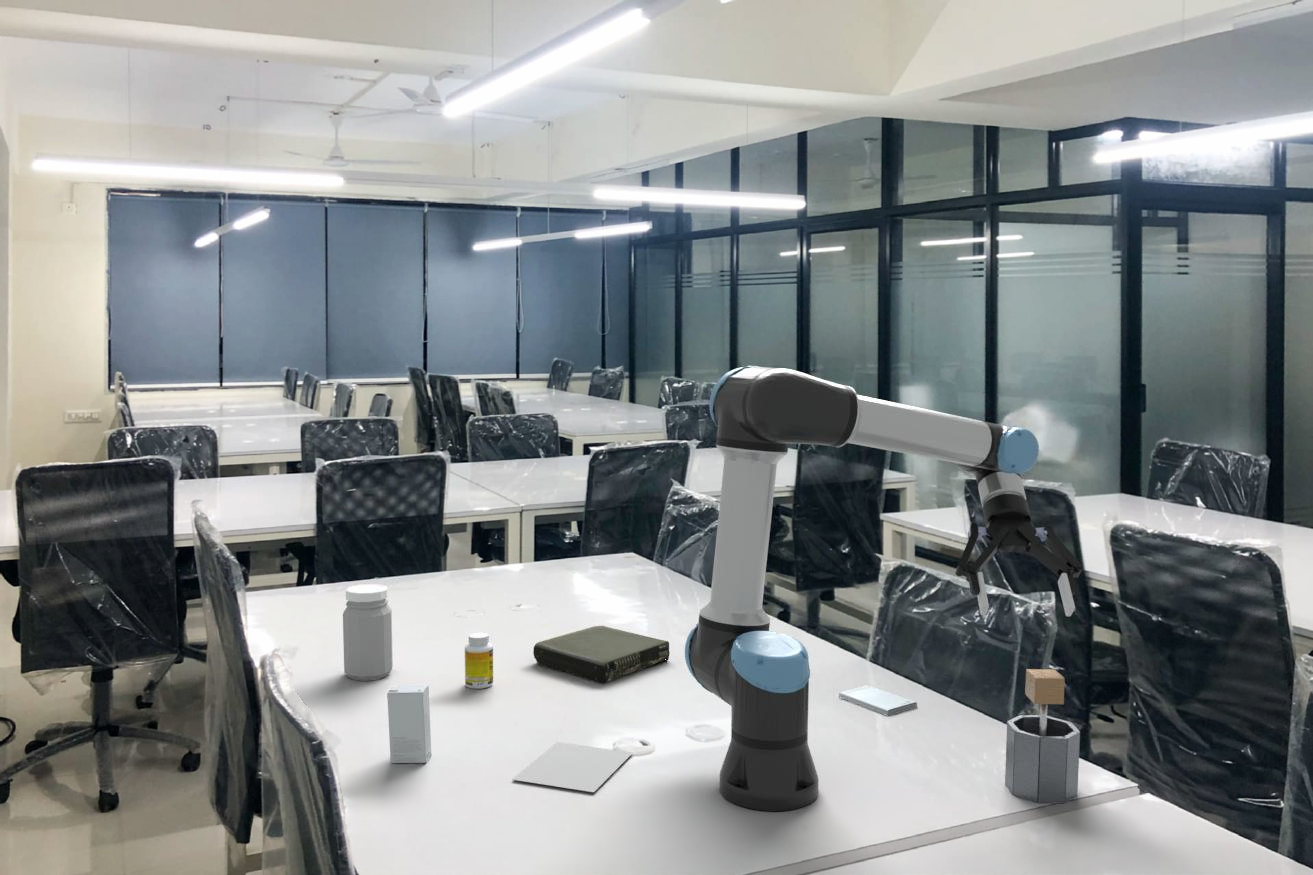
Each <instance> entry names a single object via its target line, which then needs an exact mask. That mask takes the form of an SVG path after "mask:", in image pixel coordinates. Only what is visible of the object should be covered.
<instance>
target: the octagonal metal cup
mask: <svg viewBox="0 0 1313 875" xmlns="http://www.w3.org/2000/svg"><path fill="white" fill-rule="evenodd" d="M1039 731H1040V714H1039V715H1038V714H1035V715H1033V714H1031V715H1030V714H1021V715H1018V716H1016V717H1013V718H1011V719H1009V720H1007V721H1006V744H1005V745H1006V746H1005V747H1006V748H1005V749H1006V750H1005V771H1004V772H1005V774H1004V776H1005V777H1004V784H1005V786H1006V788H1008V790H1009V792H1010V793H1011V794H1012V795H1013V796H1016V797H1019V798H1022V799H1024V800H1027V801H1031V802H1034V803H1038V804H1066V803H1068V802H1070V801H1072V800H1073V799H1075V798H1076V797H1077V796H1078V794H1079V793H1078V788H1079V787H1078V786H1079V766H1080V765H1079V764H1080V745H1081V744H1080V741H1081V731H1080V730H1079V729H1078V728H1077V727H1076V726H1075V725H1074V724H1073V723H1072V722H1071V721H1067V720H1064V719H1062V718H1061V719H1060V718H1057V717H1053V716H1051V715H1047V730H1046V736H1039Z"/></svg>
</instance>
